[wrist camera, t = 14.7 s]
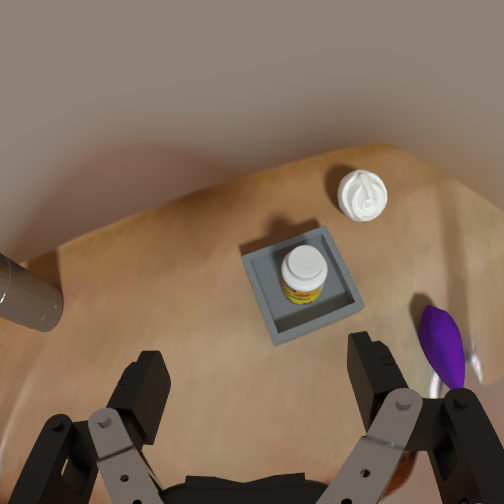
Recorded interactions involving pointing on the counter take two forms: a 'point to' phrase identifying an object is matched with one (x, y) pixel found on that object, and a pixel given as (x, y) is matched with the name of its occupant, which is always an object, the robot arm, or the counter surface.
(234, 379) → the counter surface
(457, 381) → the crystal
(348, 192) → the white swirled ball
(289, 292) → the supplement bottle
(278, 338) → the tray
